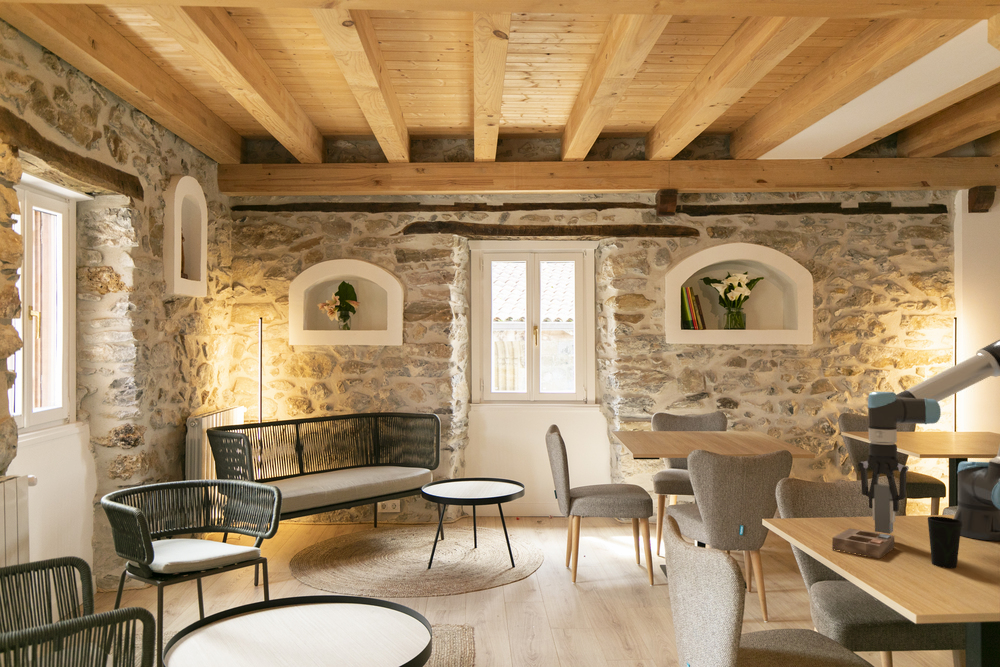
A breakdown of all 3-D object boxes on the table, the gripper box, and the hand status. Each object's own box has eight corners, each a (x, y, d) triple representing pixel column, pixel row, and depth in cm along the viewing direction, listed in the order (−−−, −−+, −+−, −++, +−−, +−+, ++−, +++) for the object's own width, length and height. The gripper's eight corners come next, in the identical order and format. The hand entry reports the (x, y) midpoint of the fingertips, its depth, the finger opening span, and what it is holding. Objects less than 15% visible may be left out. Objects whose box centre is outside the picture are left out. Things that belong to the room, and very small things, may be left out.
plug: (893, 531, 211) (892, 484, 212) (889, 533, 208) (888, 486, 209) (878, 529, 214) (877, 482, 215) (874, 531, 211) (874, 484, 212)
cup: (950, 570, 181) (950, 524, 182) (921, 562, 188) (921, 517, 189) (967, 567, 185) (967, 521, 185) (938, 559, 192) (938, 515, 192)
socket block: (894, 548, 203) (894, 534, 203) (879, 558, 191) (879, 544, 191) (849, 539, 211) (849, 526, 211) (832, 549, 199) (832, 536, 199)
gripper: (848, 441, 215) (849, 518, 214) (911, 446, 204) (913, 527, 203) (855, 439, 221) (857, 514, 220) (917, 444, 209) (919, 523, 208)
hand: (883, 520), depth 211 cm, fingers closed on plug, 4 cm apart
